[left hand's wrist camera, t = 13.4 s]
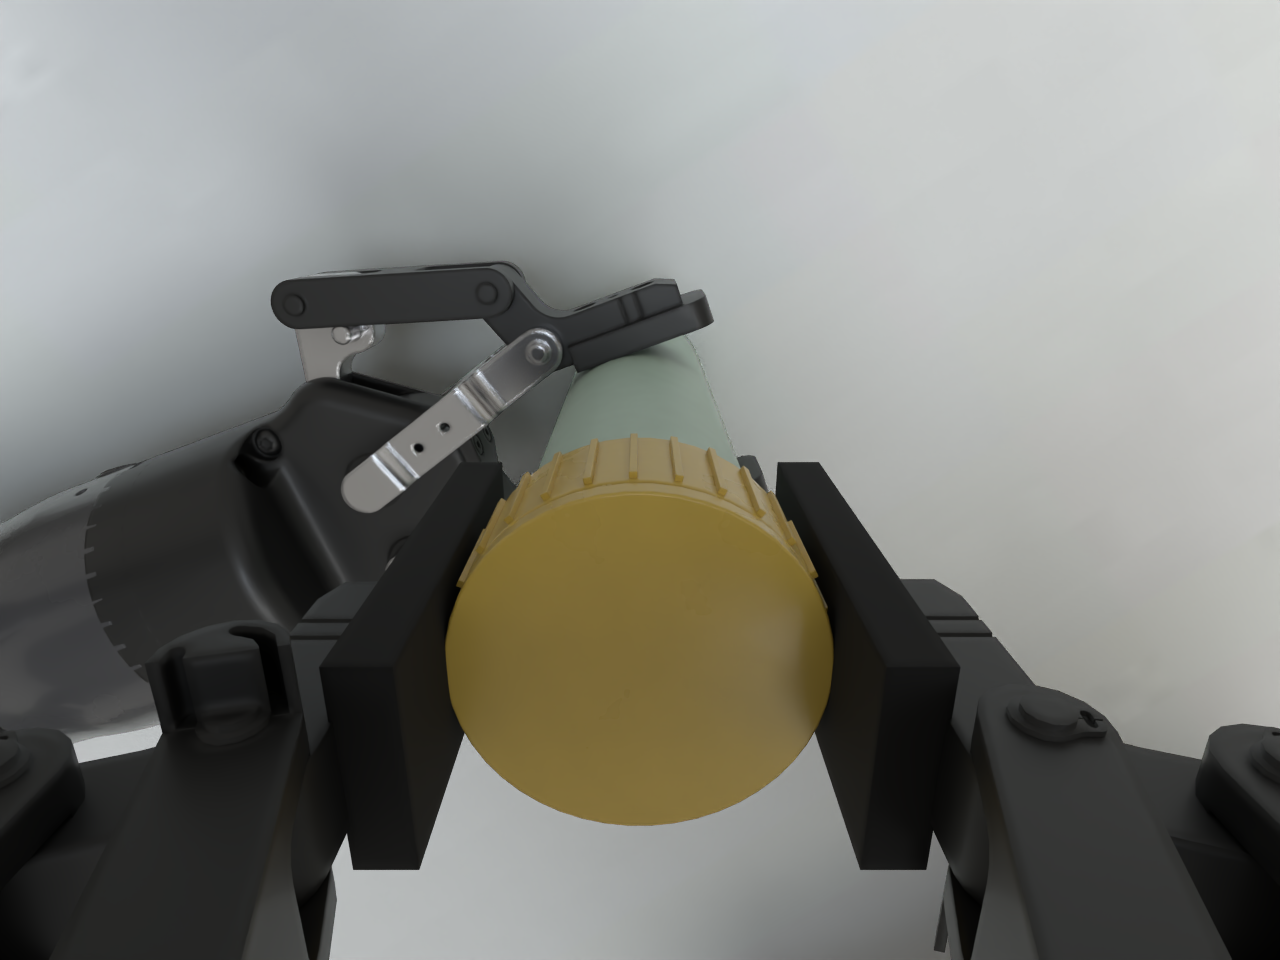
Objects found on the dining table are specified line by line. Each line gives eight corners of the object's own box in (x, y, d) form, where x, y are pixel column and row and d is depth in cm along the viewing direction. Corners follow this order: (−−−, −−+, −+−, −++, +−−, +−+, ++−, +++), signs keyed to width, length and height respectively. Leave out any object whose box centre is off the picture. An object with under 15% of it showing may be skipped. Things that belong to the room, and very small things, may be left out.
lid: (689, 363, 11) (702, 402, 9) (862, 628, 12) (911, 719, 10) (406, 548, 12) (353, 626, 10) (598, 772, 13) (590, 885, 11)
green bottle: (726, 370, 27) (864, 631, 10) (647, 460, 28) (659, 825, 11) (631, 289, 26) (614, 436, 9) (553, 386, 27) (418, 668, 11)
